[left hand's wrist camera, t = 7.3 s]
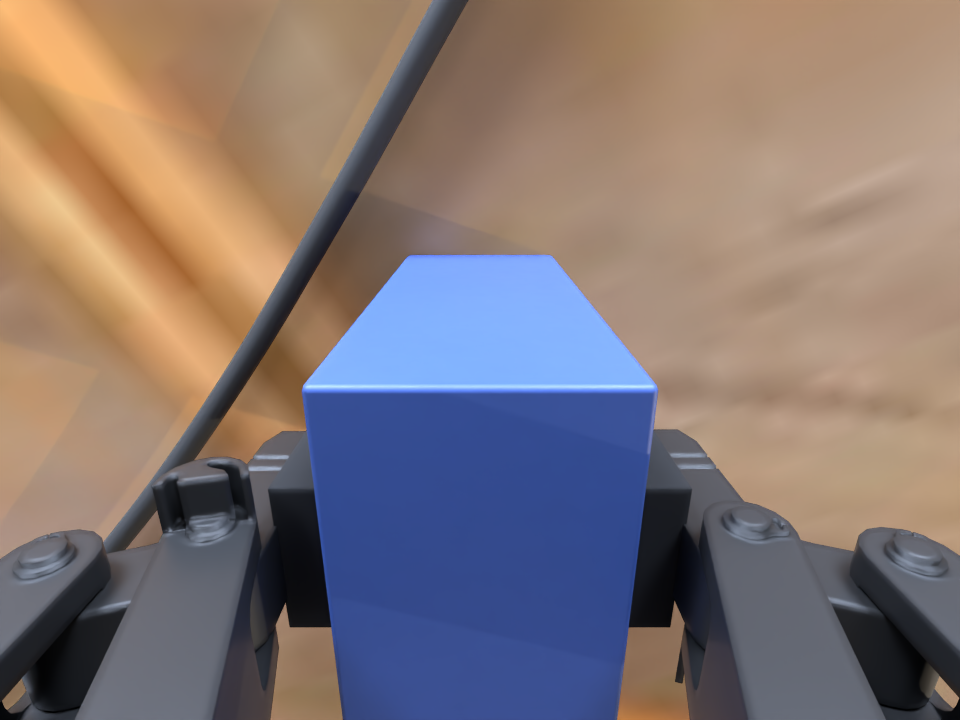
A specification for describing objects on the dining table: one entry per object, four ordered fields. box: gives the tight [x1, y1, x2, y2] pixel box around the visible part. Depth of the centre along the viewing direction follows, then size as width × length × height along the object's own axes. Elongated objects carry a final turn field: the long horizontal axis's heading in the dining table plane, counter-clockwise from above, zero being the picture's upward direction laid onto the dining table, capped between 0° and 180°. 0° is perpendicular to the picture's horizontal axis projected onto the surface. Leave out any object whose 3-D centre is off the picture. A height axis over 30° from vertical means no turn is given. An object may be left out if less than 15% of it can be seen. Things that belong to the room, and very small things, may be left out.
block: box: [302, 255, 658, 720], centre depth 12 cm, size 4×7×10 cm, turn 0°
